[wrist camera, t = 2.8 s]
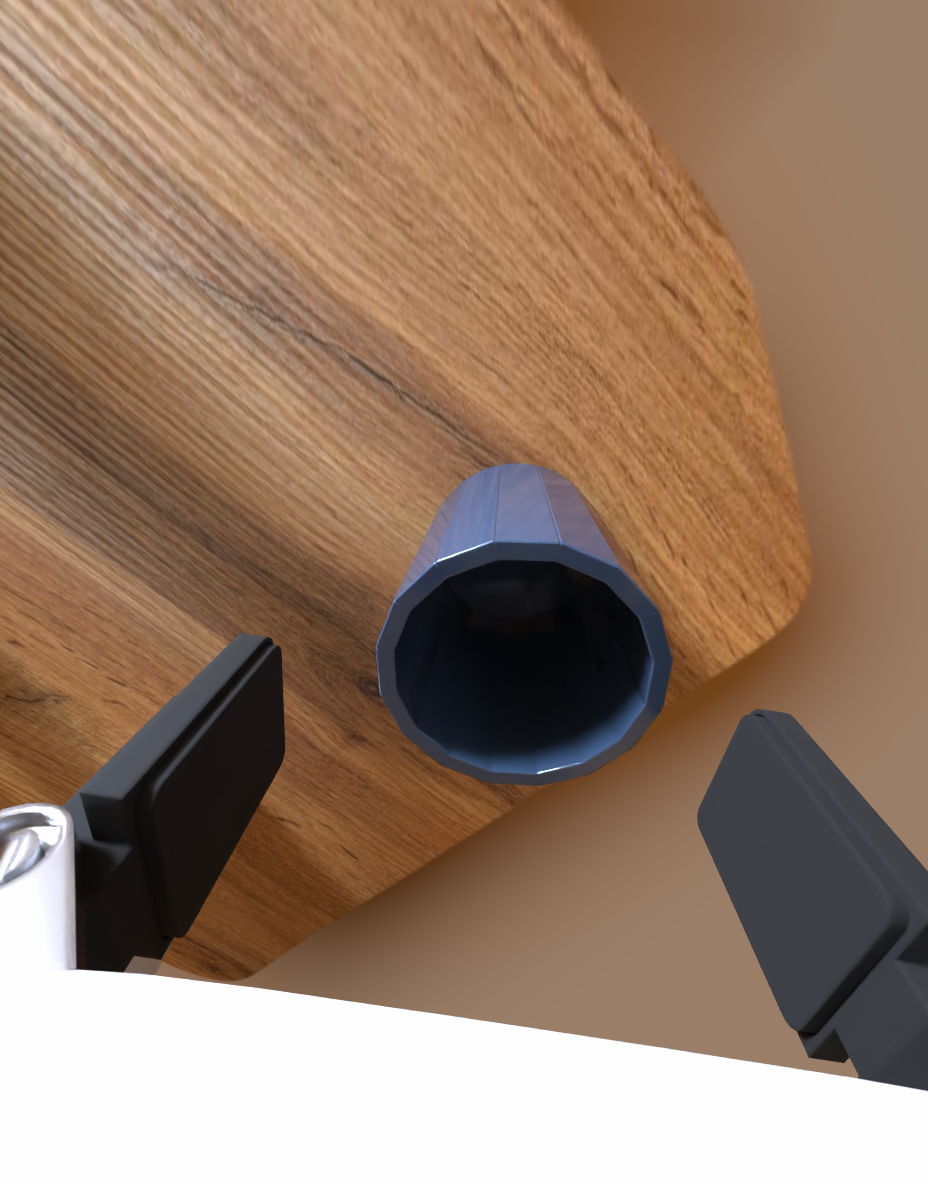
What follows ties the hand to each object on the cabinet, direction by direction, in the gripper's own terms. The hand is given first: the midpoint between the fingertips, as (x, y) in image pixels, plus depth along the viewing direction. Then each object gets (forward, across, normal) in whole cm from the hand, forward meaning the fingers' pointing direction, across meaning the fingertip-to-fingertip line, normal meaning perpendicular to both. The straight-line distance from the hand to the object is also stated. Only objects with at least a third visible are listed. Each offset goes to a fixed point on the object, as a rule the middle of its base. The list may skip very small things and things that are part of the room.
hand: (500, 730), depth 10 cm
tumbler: (+10, -1, 0) cm, 11 cm away
